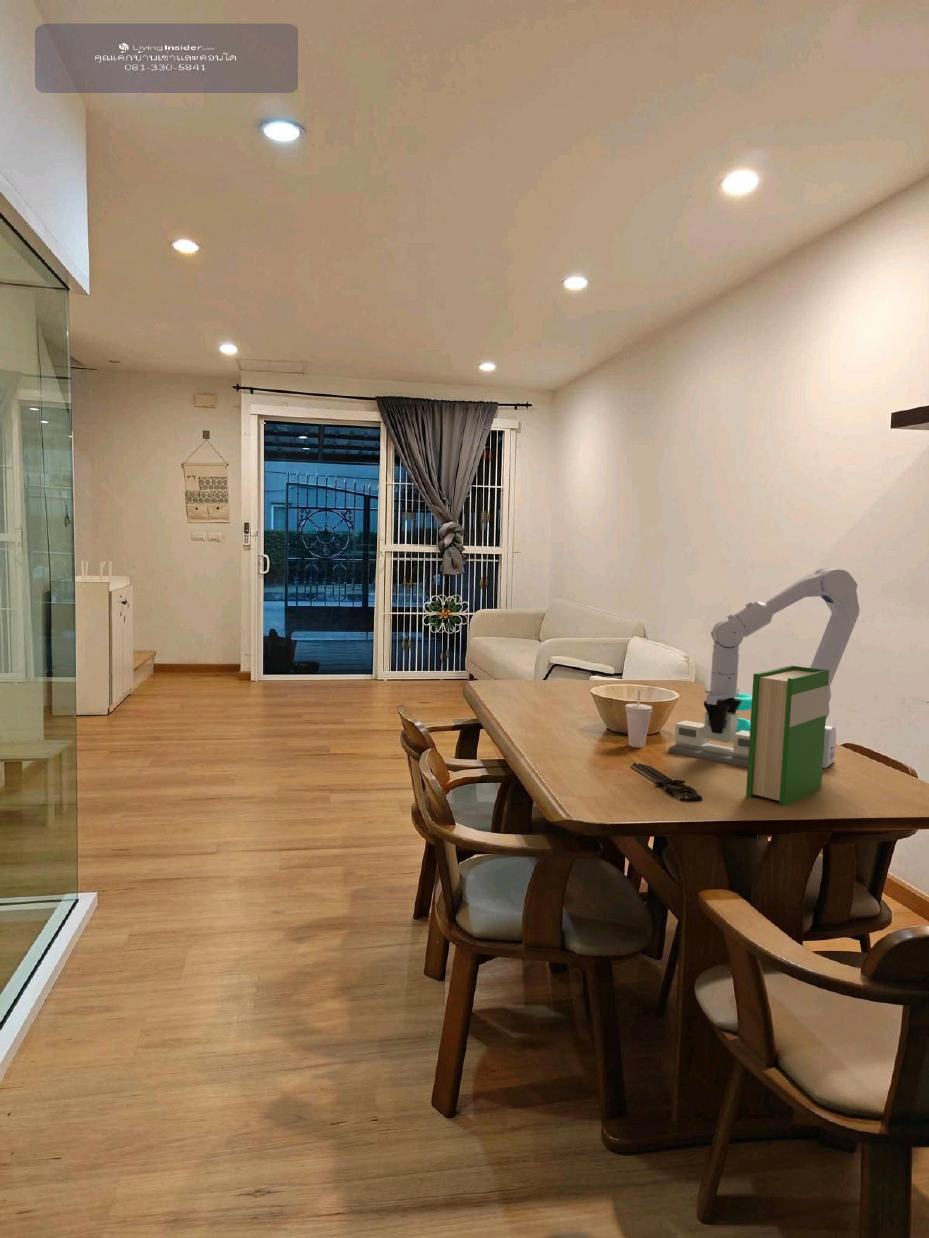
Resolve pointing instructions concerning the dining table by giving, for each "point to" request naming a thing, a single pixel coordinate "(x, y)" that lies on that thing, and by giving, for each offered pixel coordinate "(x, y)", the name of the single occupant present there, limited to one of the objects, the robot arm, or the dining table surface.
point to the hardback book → (787, 733)
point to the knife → (664, 781)
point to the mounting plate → (709, 744)
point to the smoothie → (638, 722)
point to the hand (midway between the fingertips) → (720, 731)
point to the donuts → (745, 705)
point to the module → (728, 728)
